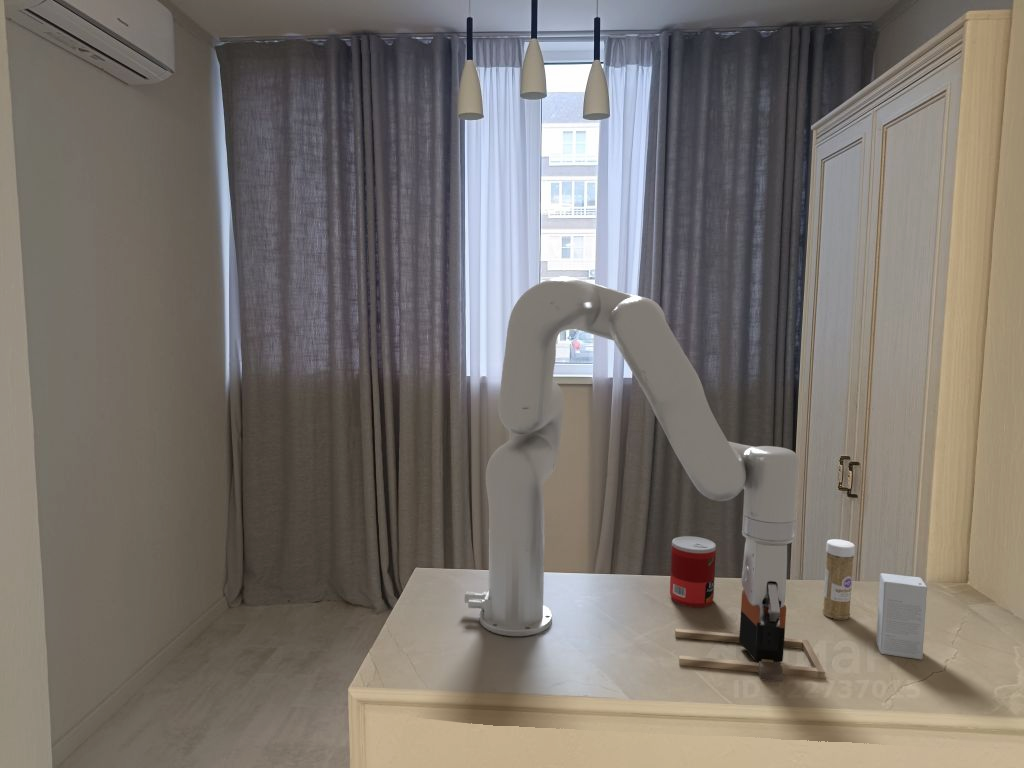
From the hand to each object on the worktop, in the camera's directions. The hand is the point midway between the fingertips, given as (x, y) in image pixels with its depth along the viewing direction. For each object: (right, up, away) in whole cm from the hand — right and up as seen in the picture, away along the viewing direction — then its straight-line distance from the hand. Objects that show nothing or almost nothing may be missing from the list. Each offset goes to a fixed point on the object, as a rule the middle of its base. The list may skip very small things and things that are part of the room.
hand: (761, 636), depth 108 cm
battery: (0, -3, 0) cm, 3 cm away
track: (-3, -3, 0) cm, 4 cm away
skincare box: (+23, -4, +3) cm, 23 cm away
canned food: (-5, -1, +21) cm, 22 cm away
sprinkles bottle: (+19, -2, +15) cm, 24 cm away
